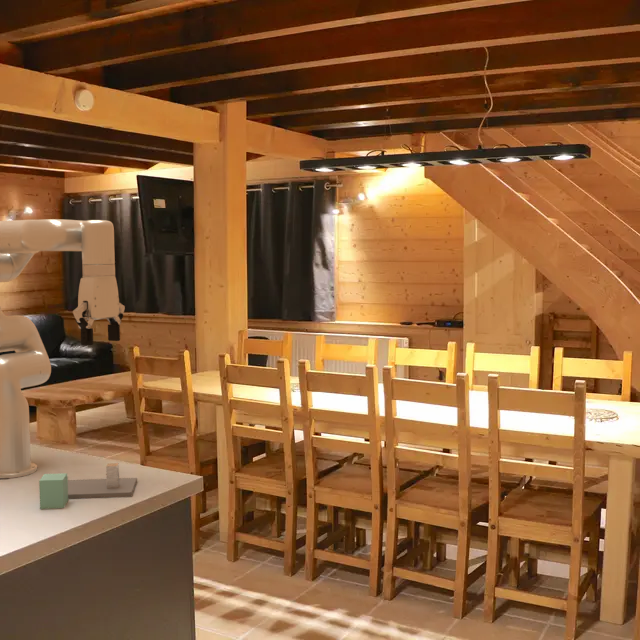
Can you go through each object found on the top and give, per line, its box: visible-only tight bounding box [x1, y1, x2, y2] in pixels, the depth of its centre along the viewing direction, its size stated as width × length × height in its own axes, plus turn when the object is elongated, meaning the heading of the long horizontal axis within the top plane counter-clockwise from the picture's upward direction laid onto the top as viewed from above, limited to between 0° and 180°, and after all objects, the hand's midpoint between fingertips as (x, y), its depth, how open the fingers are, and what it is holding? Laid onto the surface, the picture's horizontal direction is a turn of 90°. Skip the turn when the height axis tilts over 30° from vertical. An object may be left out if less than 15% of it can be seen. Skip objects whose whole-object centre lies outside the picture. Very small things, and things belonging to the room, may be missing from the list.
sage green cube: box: [38, 472, 69, 510], centre depth 176 cm, size 5×5×7 cm
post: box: [105, 462, 120, 489], centre depth 187 cm, size 3×3×6 cm
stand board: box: [68, 477, 138, 500], centre depth 187 cm, size 18×12×1 cm, turn 97°
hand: (100, 342), depth 184 cm, fingers open, 9 cm apart
